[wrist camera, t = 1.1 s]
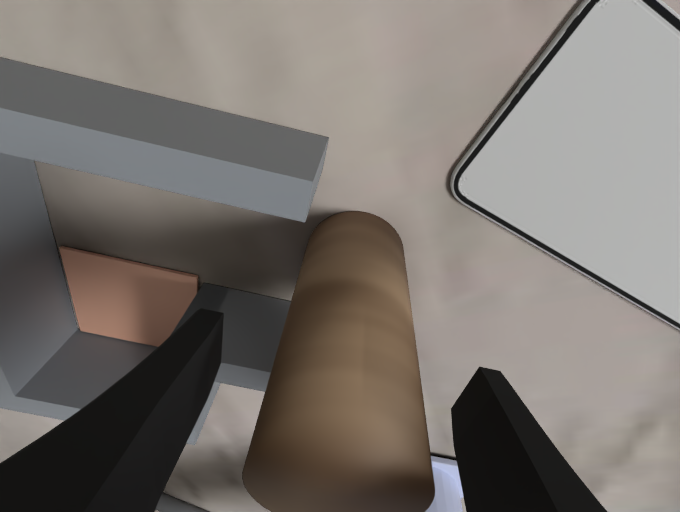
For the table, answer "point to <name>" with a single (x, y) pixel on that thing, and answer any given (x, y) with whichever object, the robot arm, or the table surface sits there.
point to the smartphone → (593, 153)
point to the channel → (118, 274)
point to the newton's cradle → (175, 505)
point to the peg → (345, 383)
